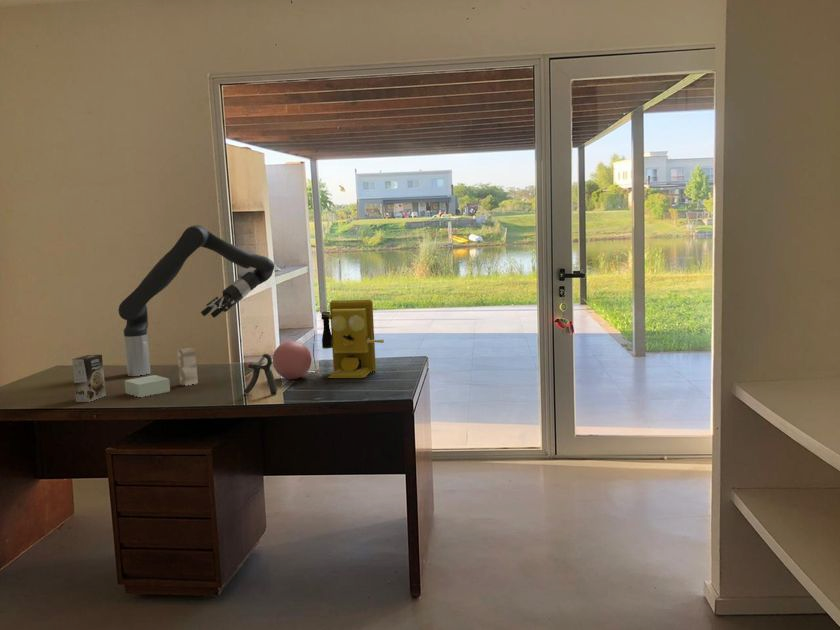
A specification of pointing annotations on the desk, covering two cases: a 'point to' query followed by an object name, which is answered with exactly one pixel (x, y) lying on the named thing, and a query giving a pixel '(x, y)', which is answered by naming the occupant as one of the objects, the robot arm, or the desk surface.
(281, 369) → the balloon
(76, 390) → the coffee box
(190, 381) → the ash pillar
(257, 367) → the hand grip strengthener
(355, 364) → the vintage telephone
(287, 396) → the desk surface
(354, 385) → the desk surface
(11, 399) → the desk surface
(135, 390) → the base block
